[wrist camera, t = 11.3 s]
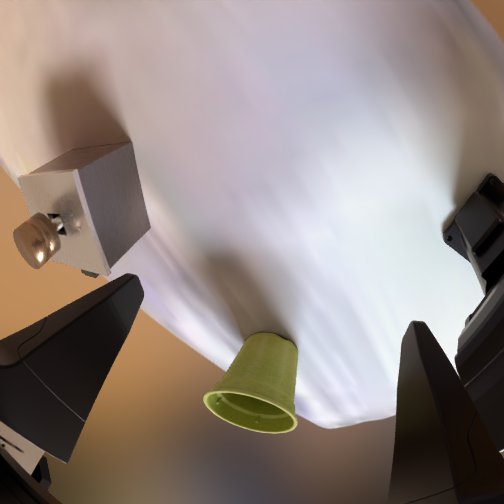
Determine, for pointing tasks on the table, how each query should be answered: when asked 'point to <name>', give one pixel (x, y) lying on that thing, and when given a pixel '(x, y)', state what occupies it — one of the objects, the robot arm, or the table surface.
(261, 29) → the table surface
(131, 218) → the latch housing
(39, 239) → the bronze domed cylinder
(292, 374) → the plant pot
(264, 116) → the table surface
